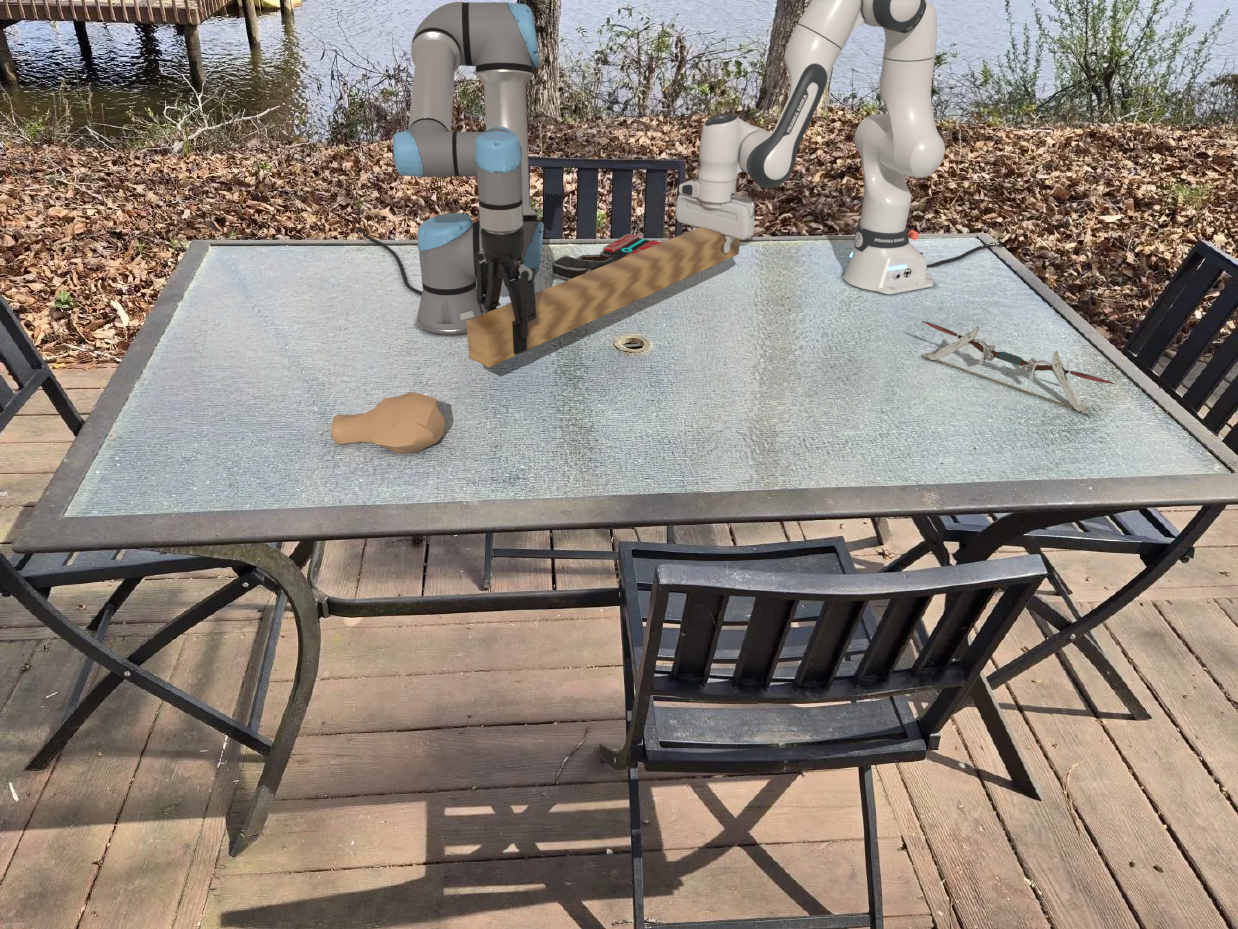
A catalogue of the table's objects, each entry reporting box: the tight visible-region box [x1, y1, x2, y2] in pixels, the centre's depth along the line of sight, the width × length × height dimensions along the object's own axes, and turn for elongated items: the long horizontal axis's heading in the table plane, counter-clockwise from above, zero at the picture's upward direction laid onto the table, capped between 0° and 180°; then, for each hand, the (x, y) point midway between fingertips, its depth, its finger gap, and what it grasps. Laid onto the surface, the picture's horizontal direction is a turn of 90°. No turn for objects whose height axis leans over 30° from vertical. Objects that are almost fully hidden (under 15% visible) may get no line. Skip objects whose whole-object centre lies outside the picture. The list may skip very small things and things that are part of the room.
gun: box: [551, 233, 662, 281], centre depth 224 cm, size 4×31×19 cm
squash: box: [330, 392, 446, 455], centre depth 152 cm, size 11×20×9 cm, turn 90°
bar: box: [466, 227, 741, 368], centre depth 186 cm, size 82×6×8 cm, turn 140°
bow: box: [921, 320, 1114, 414], centre depth 176 cm, size 39×2×10 cm, turn 47°
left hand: (508, 346), depth 166 cm, fingers closed on bar, 6 cm apart
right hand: (712, 248), depth 208 cm, fingers closed on bar, 5 cm apart
